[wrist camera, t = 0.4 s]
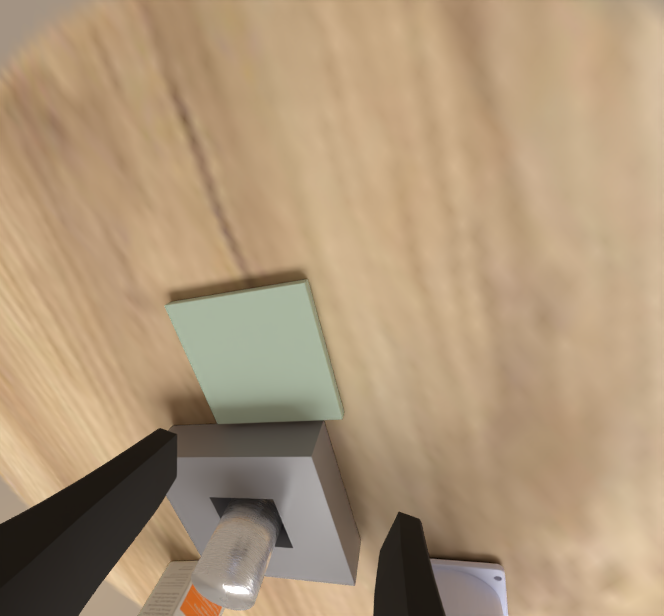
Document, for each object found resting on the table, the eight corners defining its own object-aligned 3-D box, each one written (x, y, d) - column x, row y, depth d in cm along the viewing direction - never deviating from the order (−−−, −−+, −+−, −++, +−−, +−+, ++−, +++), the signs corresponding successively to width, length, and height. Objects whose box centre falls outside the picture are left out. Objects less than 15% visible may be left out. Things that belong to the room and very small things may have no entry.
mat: (344, 412, 21) (342, 419, 21) (221, 418, 24) (217, 424, 23) (307, 279, 18) (304, 282, 18) (170, 301, 21) (164, 305, 20)
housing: (360, 541, 26) (355, 585, 23) (227, 532, 30) (208, 570, 27) (323, 419, 22) (311, 456, 19) (172, 425, 25) (144, 457, 23)
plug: (299, 503, 26) (263, 614, 20) (253, 501, 27) (206, 605, 21) (284, 465, 24) (241, 571, 18) (236, 464, 26) (180, 564, 19)
